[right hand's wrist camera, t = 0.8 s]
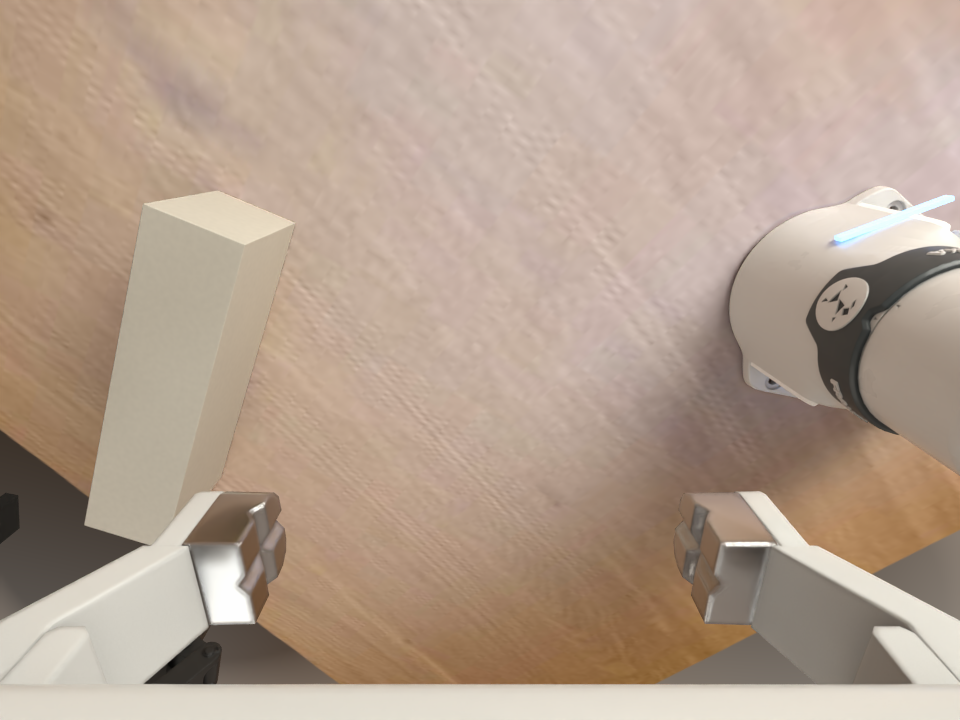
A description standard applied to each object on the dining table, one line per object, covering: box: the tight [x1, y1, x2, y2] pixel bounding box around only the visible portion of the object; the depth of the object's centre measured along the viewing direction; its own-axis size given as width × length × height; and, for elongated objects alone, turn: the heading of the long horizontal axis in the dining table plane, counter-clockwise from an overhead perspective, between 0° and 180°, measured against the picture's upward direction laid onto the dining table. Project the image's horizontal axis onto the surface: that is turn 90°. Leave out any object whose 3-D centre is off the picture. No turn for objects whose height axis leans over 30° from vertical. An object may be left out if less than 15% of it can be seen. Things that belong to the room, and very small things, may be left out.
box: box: [84, 191, 295, 545], centre depth 42 cm, size 27×6×10 cm, turn 157°
